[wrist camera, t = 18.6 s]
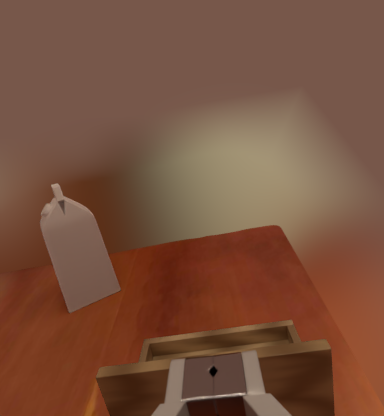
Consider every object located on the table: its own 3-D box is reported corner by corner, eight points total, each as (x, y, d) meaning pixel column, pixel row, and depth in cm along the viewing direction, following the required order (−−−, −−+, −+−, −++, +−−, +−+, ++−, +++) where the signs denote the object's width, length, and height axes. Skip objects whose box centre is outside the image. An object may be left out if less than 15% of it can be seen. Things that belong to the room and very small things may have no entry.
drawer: (293, 342, 42) (286, 268, 39) (336, 446, 29) (331, 348, 25) (150, 360, 44) (129, 291, 40) (128, 466, 31) (95, 377, 27)
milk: (121, 290, 66) (87, 181, 58) (69, 313, 61) (25, 197, 53) (108, 271, 76) (78, 176, 68) (63, 289, 71) (25, 189, 63)
